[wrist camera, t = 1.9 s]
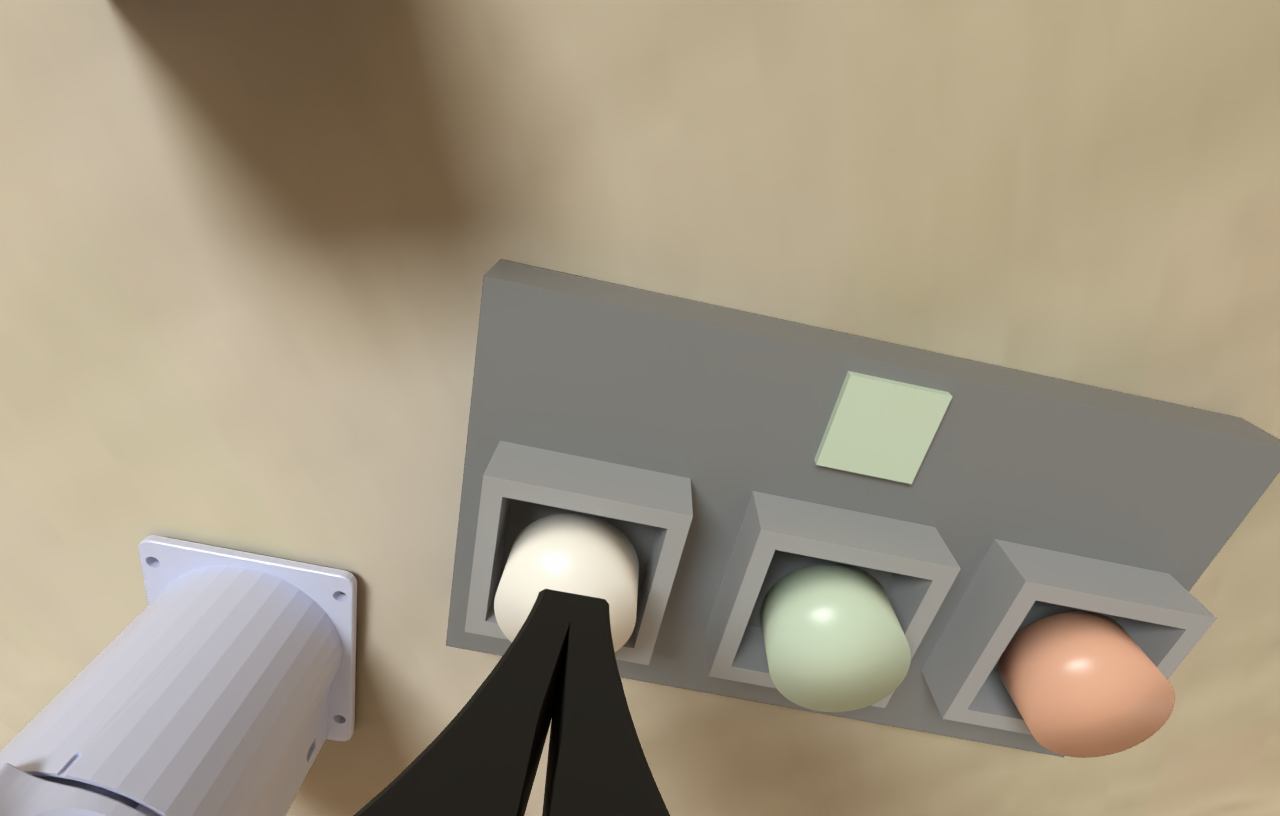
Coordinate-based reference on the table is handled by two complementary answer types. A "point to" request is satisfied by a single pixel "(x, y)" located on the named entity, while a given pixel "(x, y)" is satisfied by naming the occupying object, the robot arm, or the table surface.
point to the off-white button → (570, 570)
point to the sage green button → (833, 638)
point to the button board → (835, 490)
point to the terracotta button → (1084, 685)
